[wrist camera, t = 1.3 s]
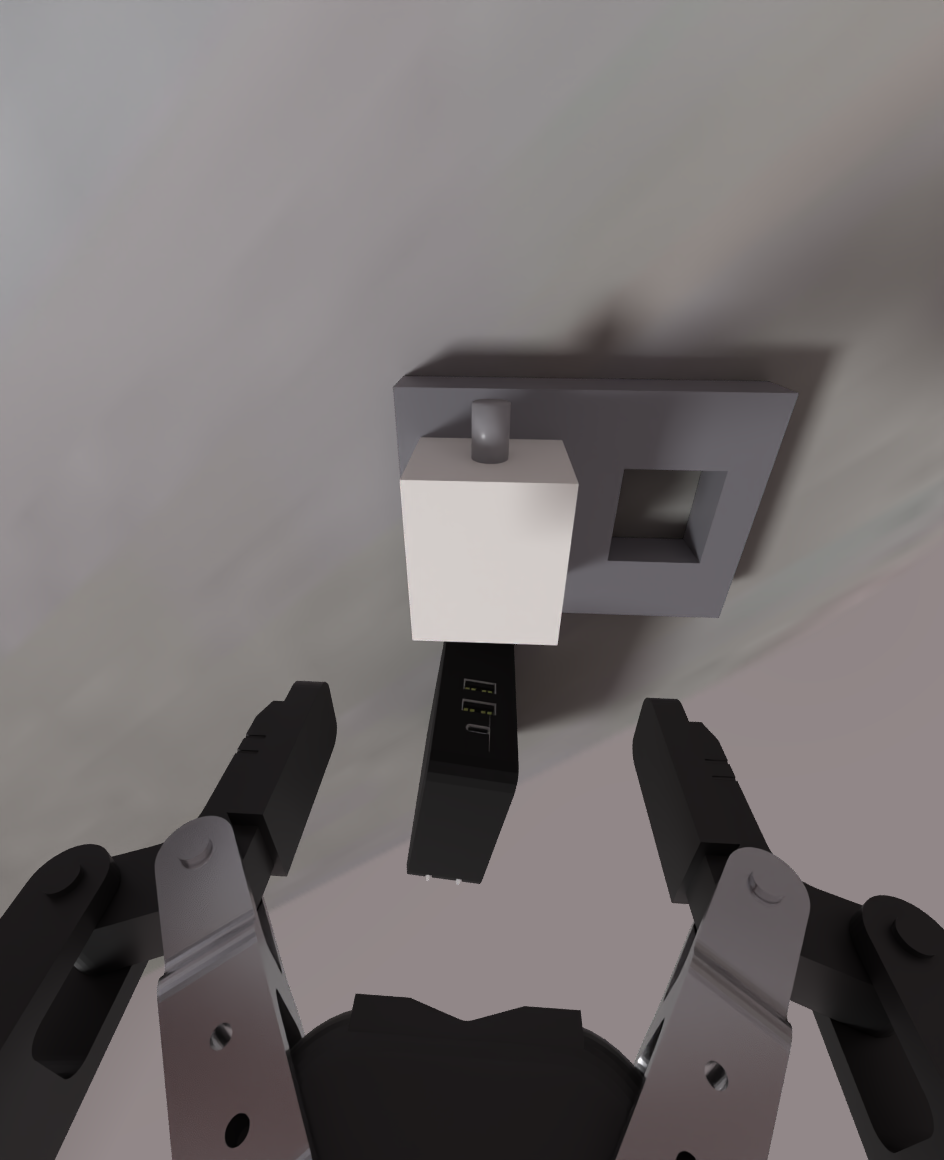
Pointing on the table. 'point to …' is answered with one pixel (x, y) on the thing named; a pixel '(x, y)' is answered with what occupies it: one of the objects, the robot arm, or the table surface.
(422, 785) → the electronic device
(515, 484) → the plug
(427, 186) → the table surface
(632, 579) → the socket plate
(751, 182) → the table surface
